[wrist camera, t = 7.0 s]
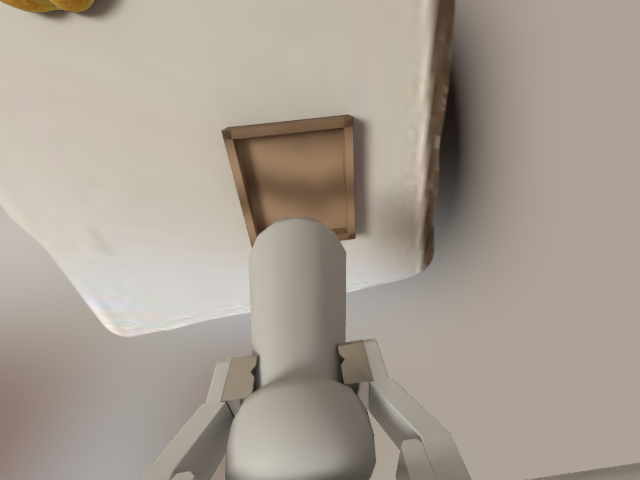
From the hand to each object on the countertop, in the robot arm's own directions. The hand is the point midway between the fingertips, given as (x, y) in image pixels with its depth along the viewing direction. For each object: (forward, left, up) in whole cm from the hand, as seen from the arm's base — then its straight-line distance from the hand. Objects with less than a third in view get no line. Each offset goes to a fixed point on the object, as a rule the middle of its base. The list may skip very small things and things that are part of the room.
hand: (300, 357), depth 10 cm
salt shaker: (0, 0, -9) cm, 9 cm away
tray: (0, 0, -22) cm, 22 cm away
